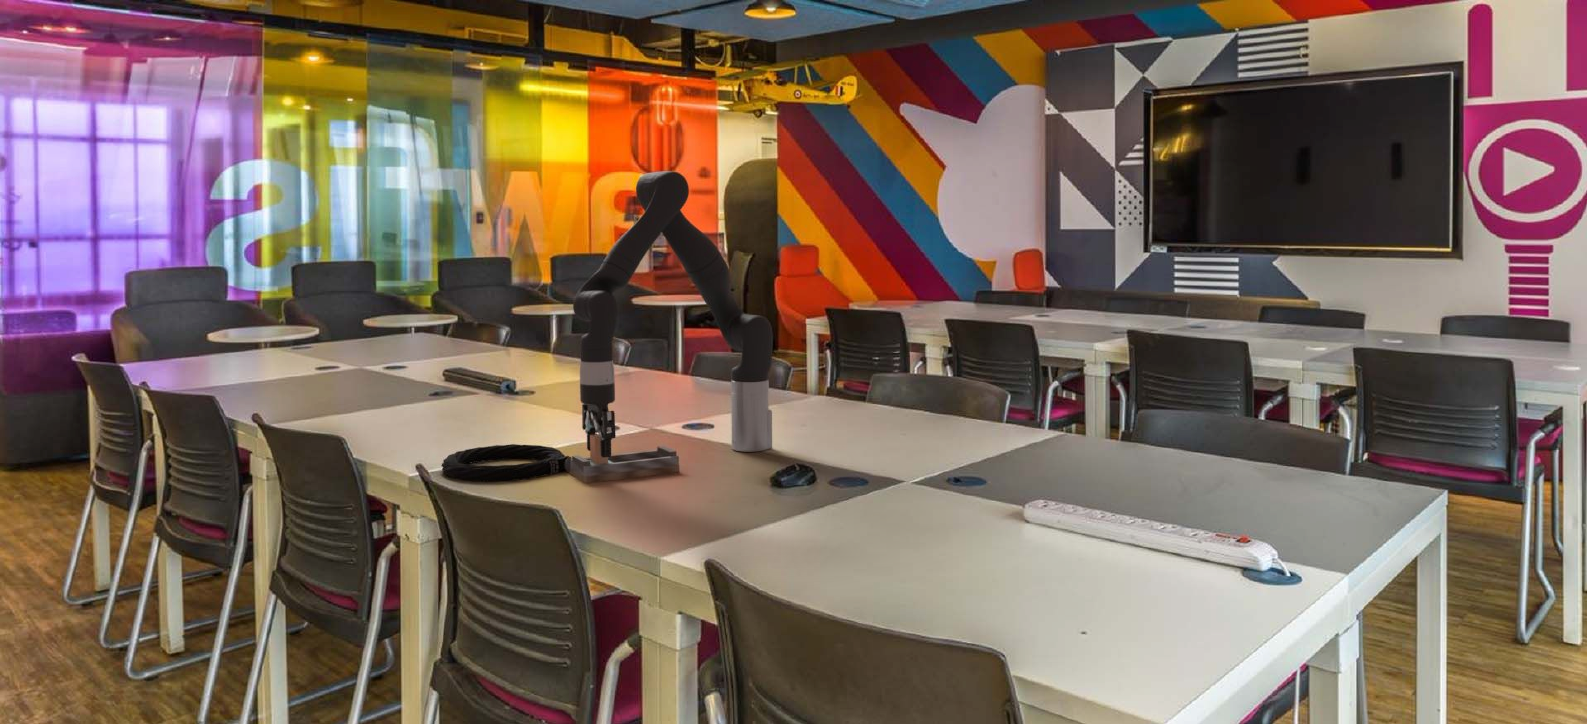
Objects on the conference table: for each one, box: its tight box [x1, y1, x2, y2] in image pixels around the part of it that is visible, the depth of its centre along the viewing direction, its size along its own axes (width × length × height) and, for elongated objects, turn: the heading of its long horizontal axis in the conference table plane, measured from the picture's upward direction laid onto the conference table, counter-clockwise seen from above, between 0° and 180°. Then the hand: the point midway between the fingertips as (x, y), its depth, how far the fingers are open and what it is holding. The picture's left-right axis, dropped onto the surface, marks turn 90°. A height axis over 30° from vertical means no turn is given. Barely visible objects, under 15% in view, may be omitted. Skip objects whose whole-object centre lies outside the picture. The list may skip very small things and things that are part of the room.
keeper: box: [589, 433, 613, 466], centre depth 253 cm, size 5×6×8 cm
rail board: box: [569, 445, 680, 484], centre depth 257 cm, size 22×10×4 cm, turn 120°
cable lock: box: [440, 443, 572, 482], centre depth 262 cm, size 28×4×30 cm
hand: (599, 453), depth 253 cm, fingers open, 8 cm apart
